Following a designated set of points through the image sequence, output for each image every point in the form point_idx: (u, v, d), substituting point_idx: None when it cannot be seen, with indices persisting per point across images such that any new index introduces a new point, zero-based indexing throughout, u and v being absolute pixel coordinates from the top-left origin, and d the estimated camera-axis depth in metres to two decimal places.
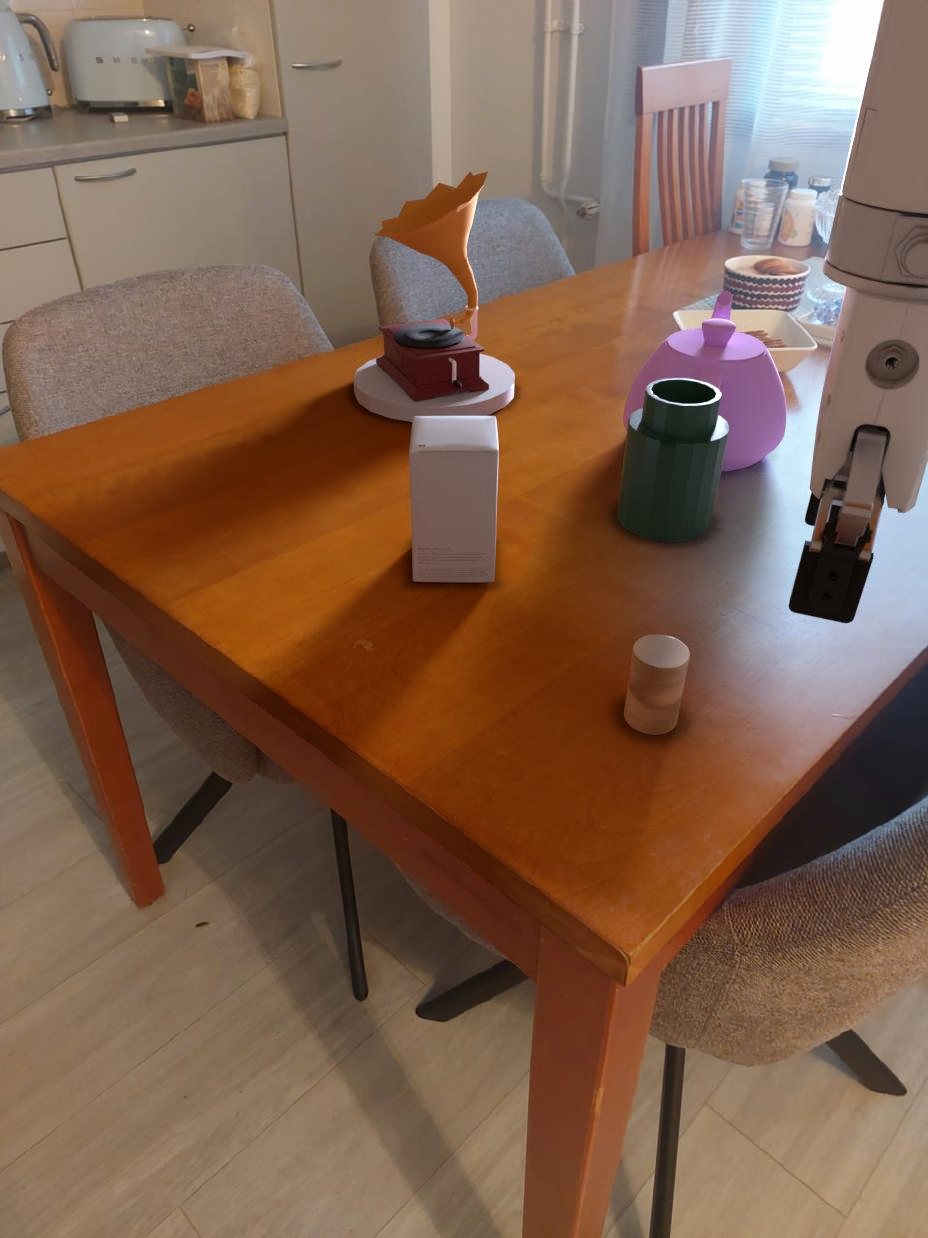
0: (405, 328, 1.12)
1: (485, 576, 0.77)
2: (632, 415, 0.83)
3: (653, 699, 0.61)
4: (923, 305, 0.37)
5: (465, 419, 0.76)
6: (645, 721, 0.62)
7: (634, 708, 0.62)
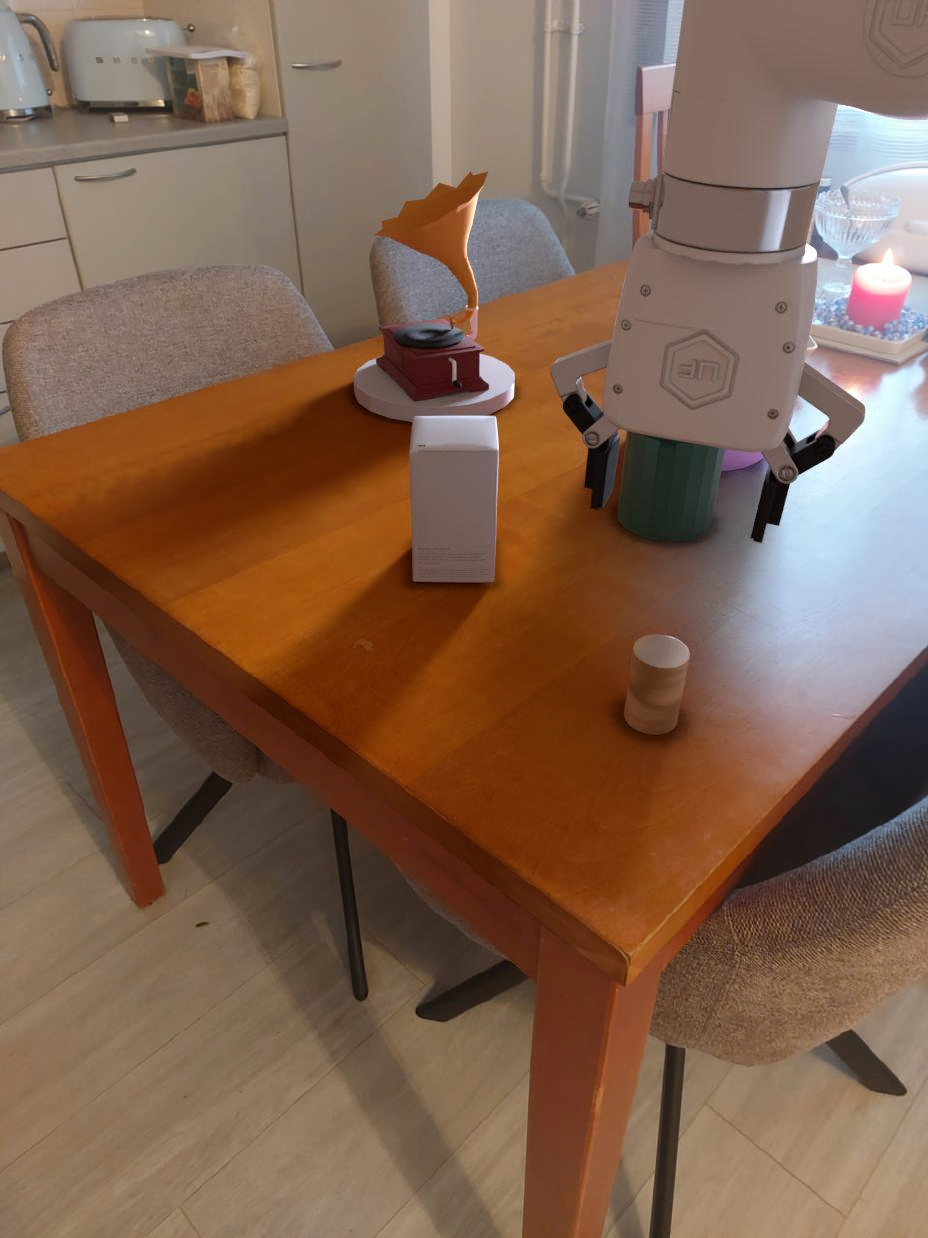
0: (405, 328, 1.12)
1: (485, 576, 0.77)
2: None
3: (653, 699, 0.61)
4: (639, 238, 0.46)
5: (465, 419, 0.76)
6: (645, 721, 0.62)
7: (634, 708, 0.62)
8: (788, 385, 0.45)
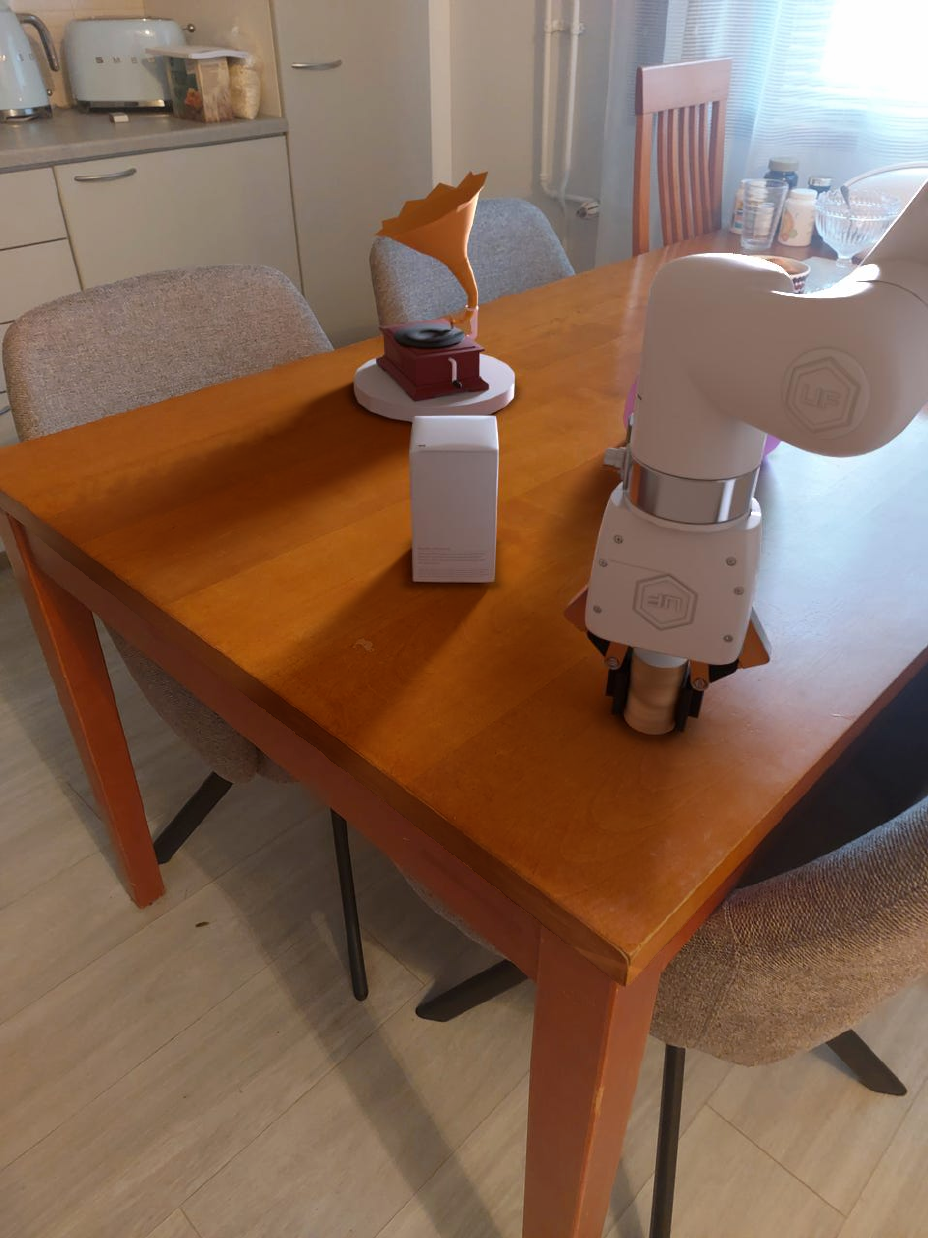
0: (405, 328, 1.12)
1: (485, 576, 0.77)
2: (632, 415, 0.83)
3: (653, 699, 0.61)
4: (612, 492, 0.55)
5: (465, 419, 0.76)
6: (645, 721, 0.62)
7: (634, 708, 0.62)
8: (740, 618, 0.54)
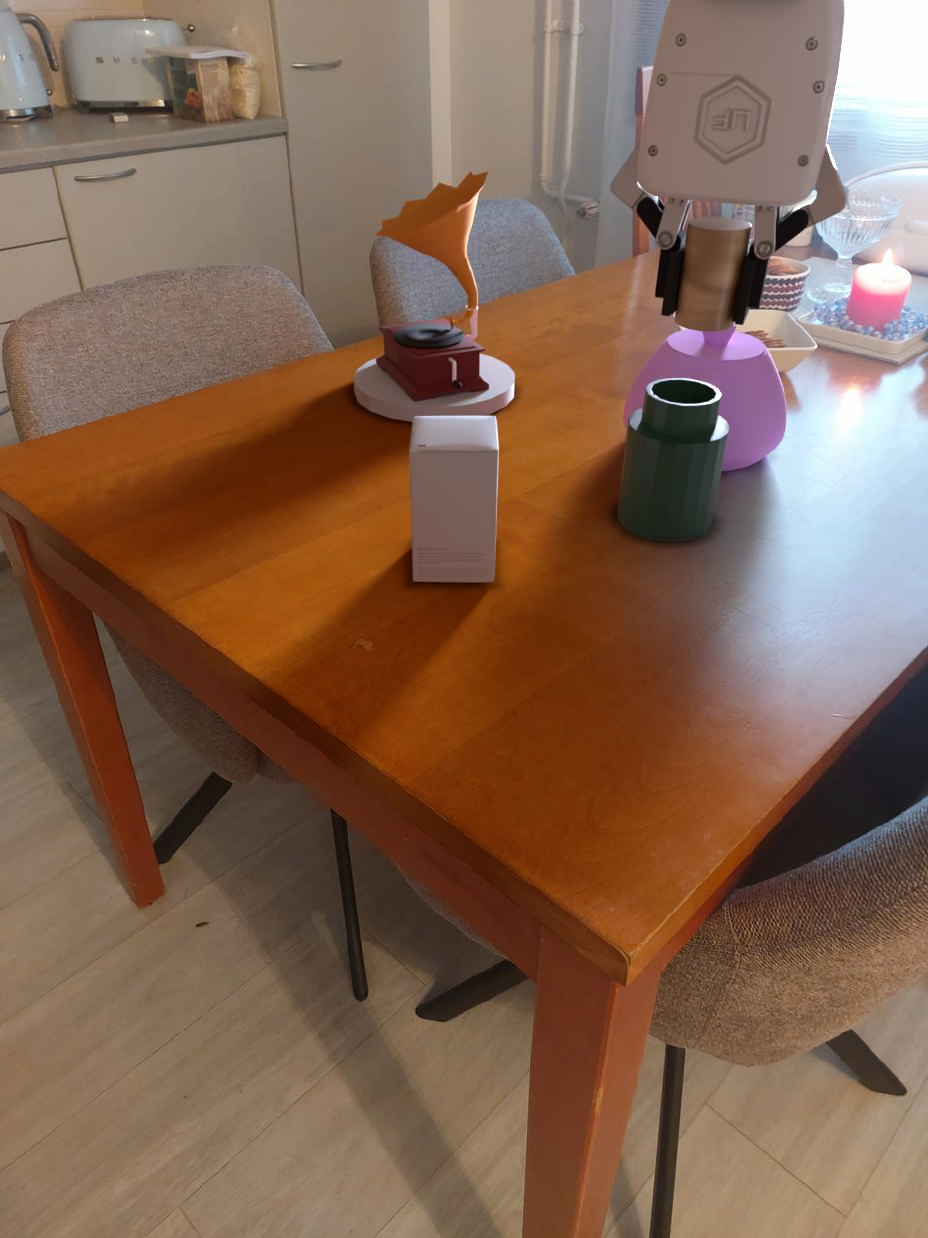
0: (405, 328, 1.12)
1: (485, 576, 0.77)
2: (632, 415, 0.83)
3: (711, 278, 0.54)
4: None
5: (465, 419, 0.76)
6: (700, 312, 0.56)
7: (688, 299, 0.56)
8: (818, 127, 0.48)
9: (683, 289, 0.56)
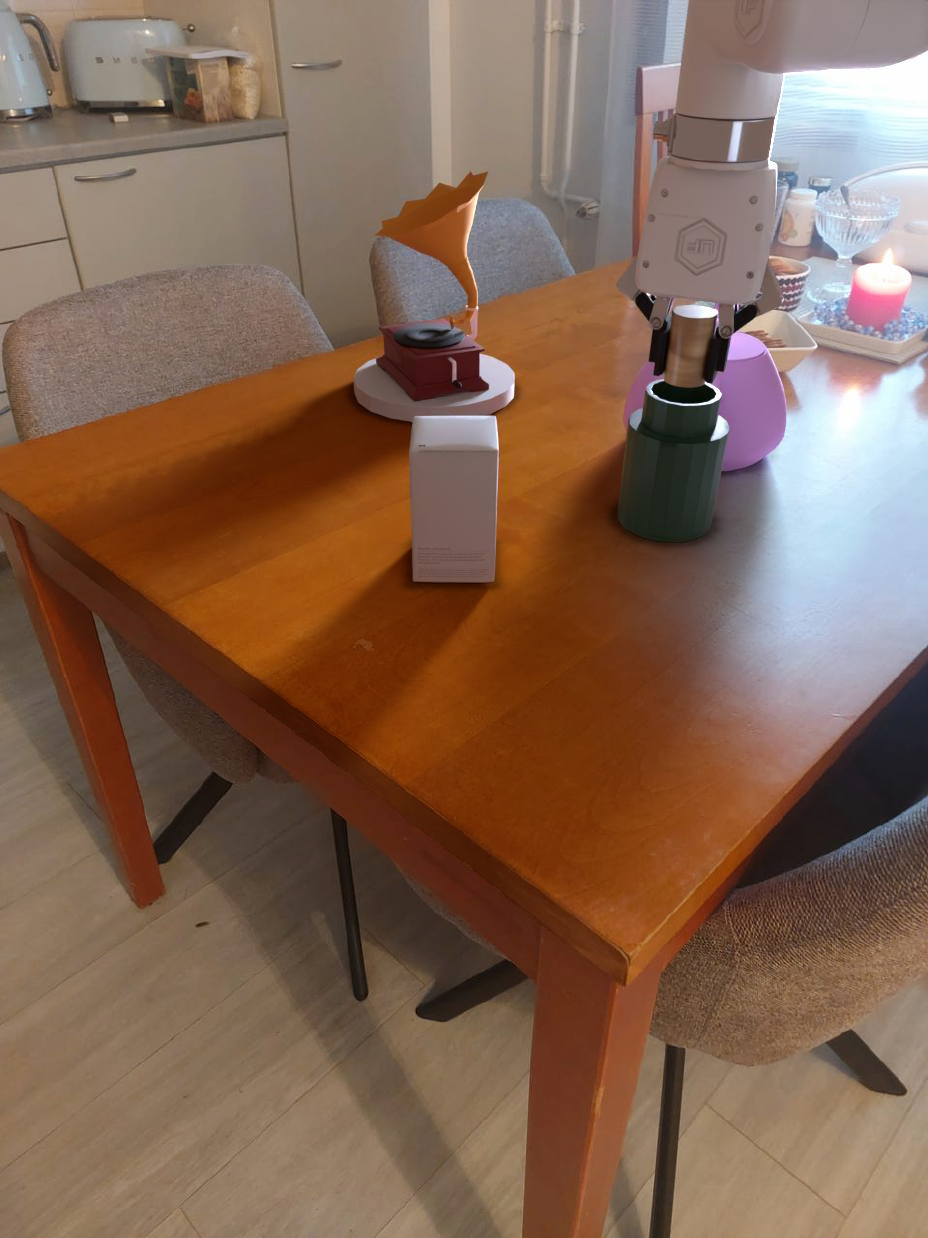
0: (405, 328, 1.12)
1: (485, 576, 0.77)
2: (632, 415, 0.83)
3: (688, 351, 0.76)
4: (660, 159, 0.70)
5: (465, 419, 0.76)
6: (681, 374, 0.77)
7: (672, 364, 0.77)
8: (759, 253, 0.69)
9: (669, 357, 0.77)
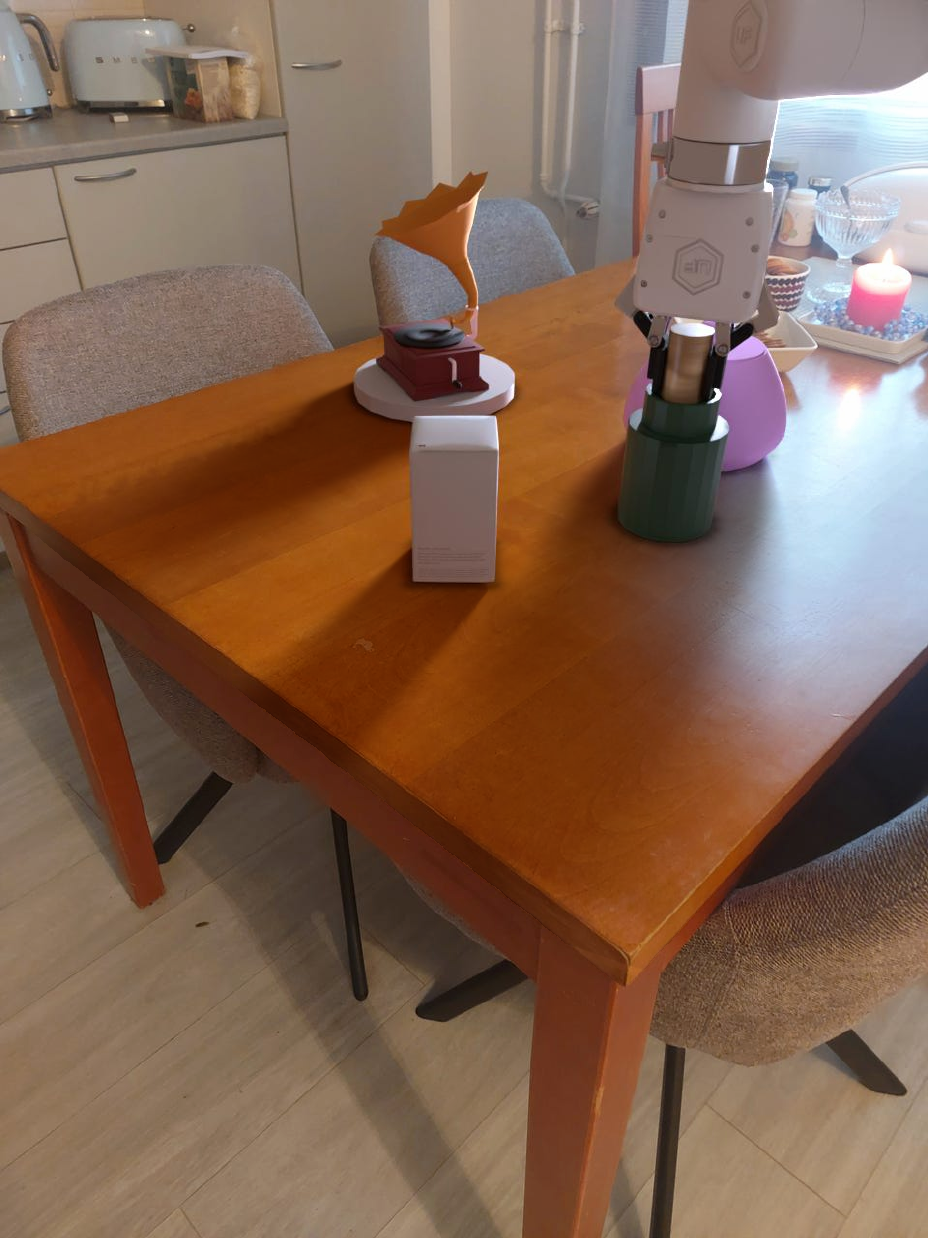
0: (405, 328, 1.12)
1: (485, 576, 0.77)
2: (632, 415, 0.83)
3: (685, 368, 0.77)
4: None
5: (465, 419, 0.76)
6: (678, 391, 0.78)
7: (670, 381, 0.78)
8: (756, 274, 0.70)
9: (666, 374, 0.78)
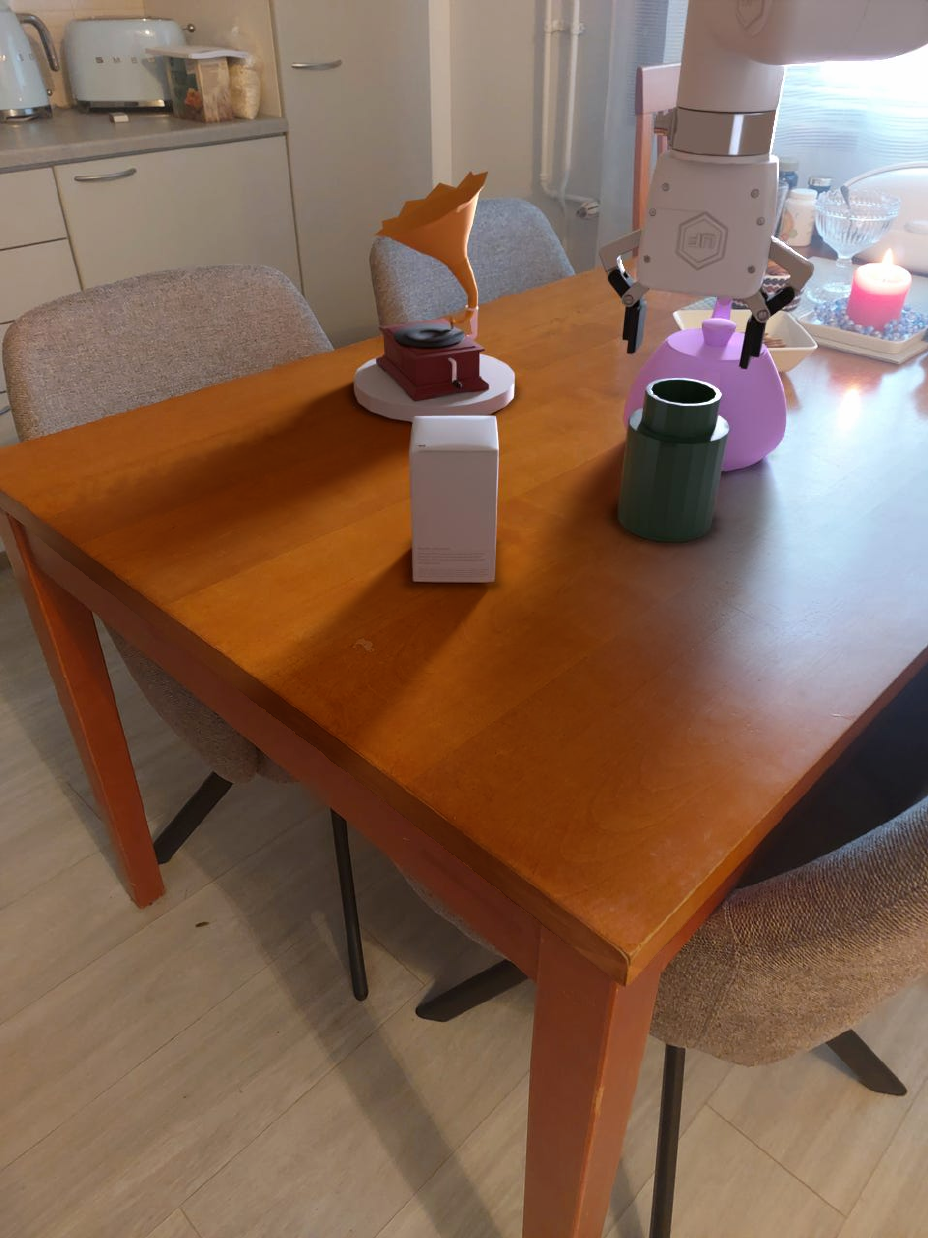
0: (405, 328, 1.12)
1: (485, 576, 0.77)
2: (632, 415, 0.83)
3: None
4: (661, 153, 0.69)
5: (465, 419, 0.76)
6: None
7: None
8: (761, 247, 0.69)
9: None
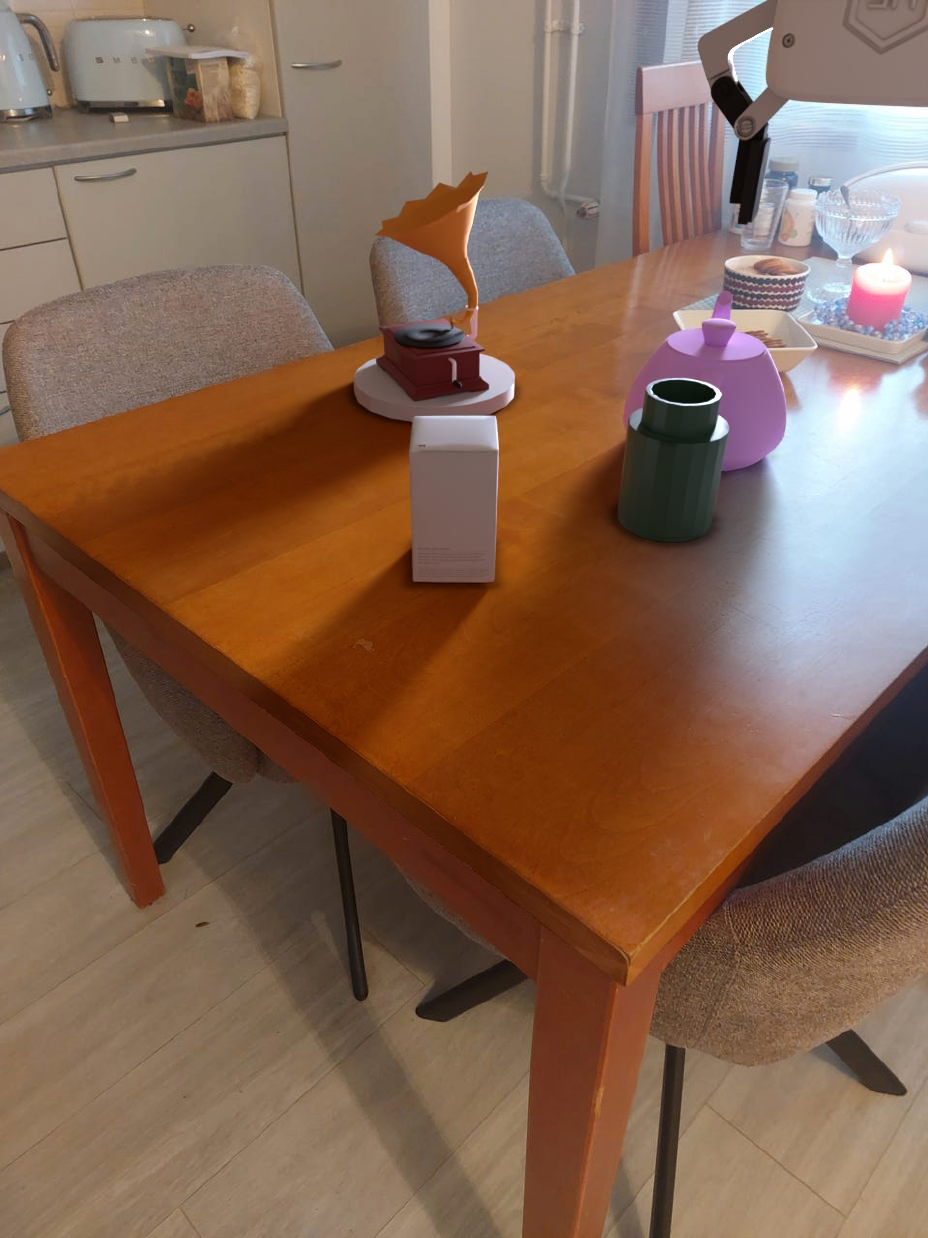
0: (405, 328, 1.12)
1: (485, 576, 0.77)
2: (632, 415, 0.83)
3: None
4: None
5: (465, 419, 0.76)
6: None
7: None
8: None
9: None
